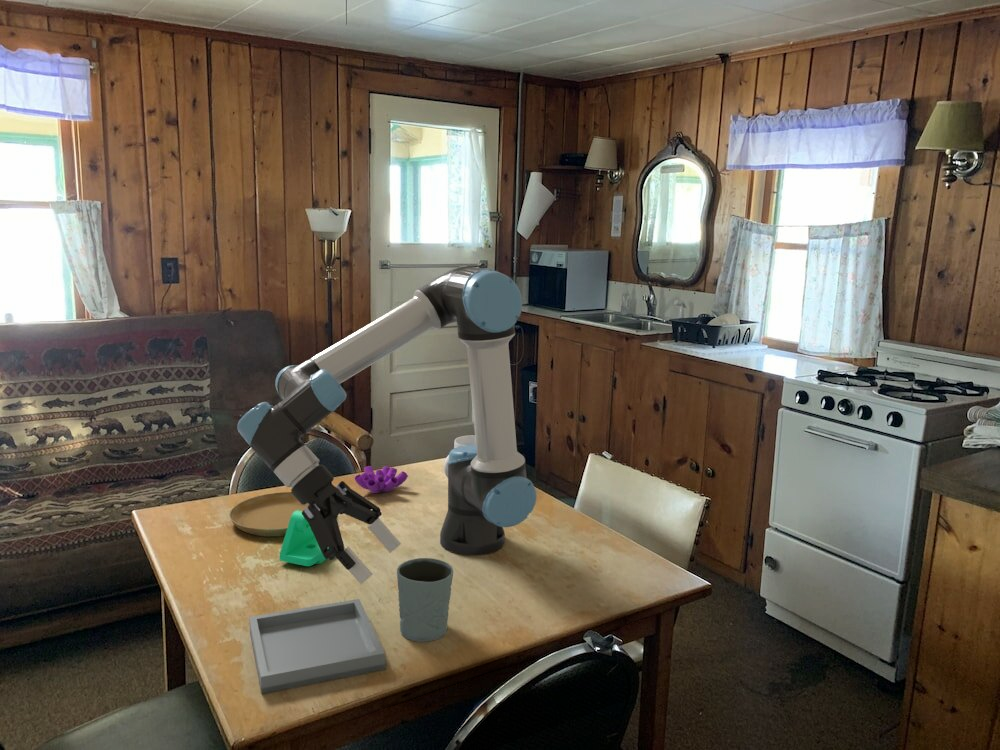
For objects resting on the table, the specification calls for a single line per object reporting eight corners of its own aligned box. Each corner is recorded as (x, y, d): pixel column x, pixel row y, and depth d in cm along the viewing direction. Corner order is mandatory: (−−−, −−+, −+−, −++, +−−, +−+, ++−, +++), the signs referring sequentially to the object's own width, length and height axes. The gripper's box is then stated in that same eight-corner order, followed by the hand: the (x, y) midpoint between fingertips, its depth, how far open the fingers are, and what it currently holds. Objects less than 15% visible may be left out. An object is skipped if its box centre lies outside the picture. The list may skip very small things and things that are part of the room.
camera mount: (309, 571, 166) (308, 526, 164) (280, 565, 169) (278, 520, 167) (340, 550, 177) (339, 507, 175) (312, 544, 180) (310, 502, 178)
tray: (359, 613, 149) (359, 598, 149) (385, 669, 131) (385, 653, 131) (249, 632, 142) (249, 616, 141) (261, 694, 124) (260, 677, 123)
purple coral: (395, 494, 222) (414, 471, 219) (375, 513, 208) (395, 488, 205) (365, 468, 223) (384, 444, 220) (343, 485, 208) (362, 460, 206)
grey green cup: (390, 621, 147) (390, 561, 144) (442, 612, 150) (442, 553, 148) (406, 649, 137) (406, 585, 135) (460, 638, 141) (461, 576, 139)
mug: (455, 496, 212) (455, 450, 210) (434, 485, 221) (434, 440, 218) (500, 486, 221) (501, 442, 218) (478, 476, 230) (479, 433, 227)
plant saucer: (266, 550, 177) (265, 536, 176) (210, 522, 192) (209, 509, 191) (351, 520, 195) (350, 508, 194) (293, 497, 210) (293, 485, 209)
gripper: (323, 468, 156) (393, 547, 156) (256, 512, 132) (338, 606, 132) (347, 445, 154) (418, 525, 153) (283, 485, 130) (368, 581, 130)
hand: (382, 563), depth 143 cm, fingers open, 13 cm apart
